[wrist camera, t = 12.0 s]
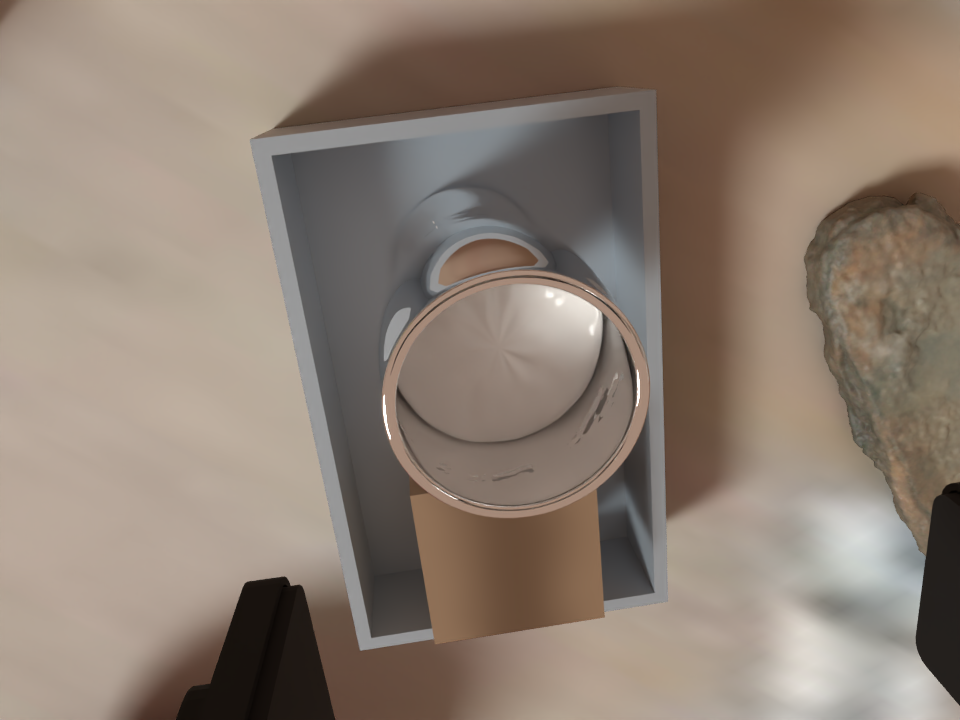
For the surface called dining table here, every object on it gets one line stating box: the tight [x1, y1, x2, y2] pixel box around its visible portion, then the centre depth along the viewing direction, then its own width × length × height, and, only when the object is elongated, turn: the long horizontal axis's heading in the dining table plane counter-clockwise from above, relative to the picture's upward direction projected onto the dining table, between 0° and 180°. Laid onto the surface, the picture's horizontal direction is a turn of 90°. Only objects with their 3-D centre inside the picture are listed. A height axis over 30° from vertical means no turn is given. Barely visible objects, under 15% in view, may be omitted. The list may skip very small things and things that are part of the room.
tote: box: [250, 87, 668, 651], centre depth 32 cm, size 14×22×5 cm, turn 6°
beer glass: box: [377, 186, 650, 518], centre depth 25 cm, size 7×7×15 cm
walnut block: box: [409, 476, 605, 644], centre depth 33 cm, size 7×7×7 cm
